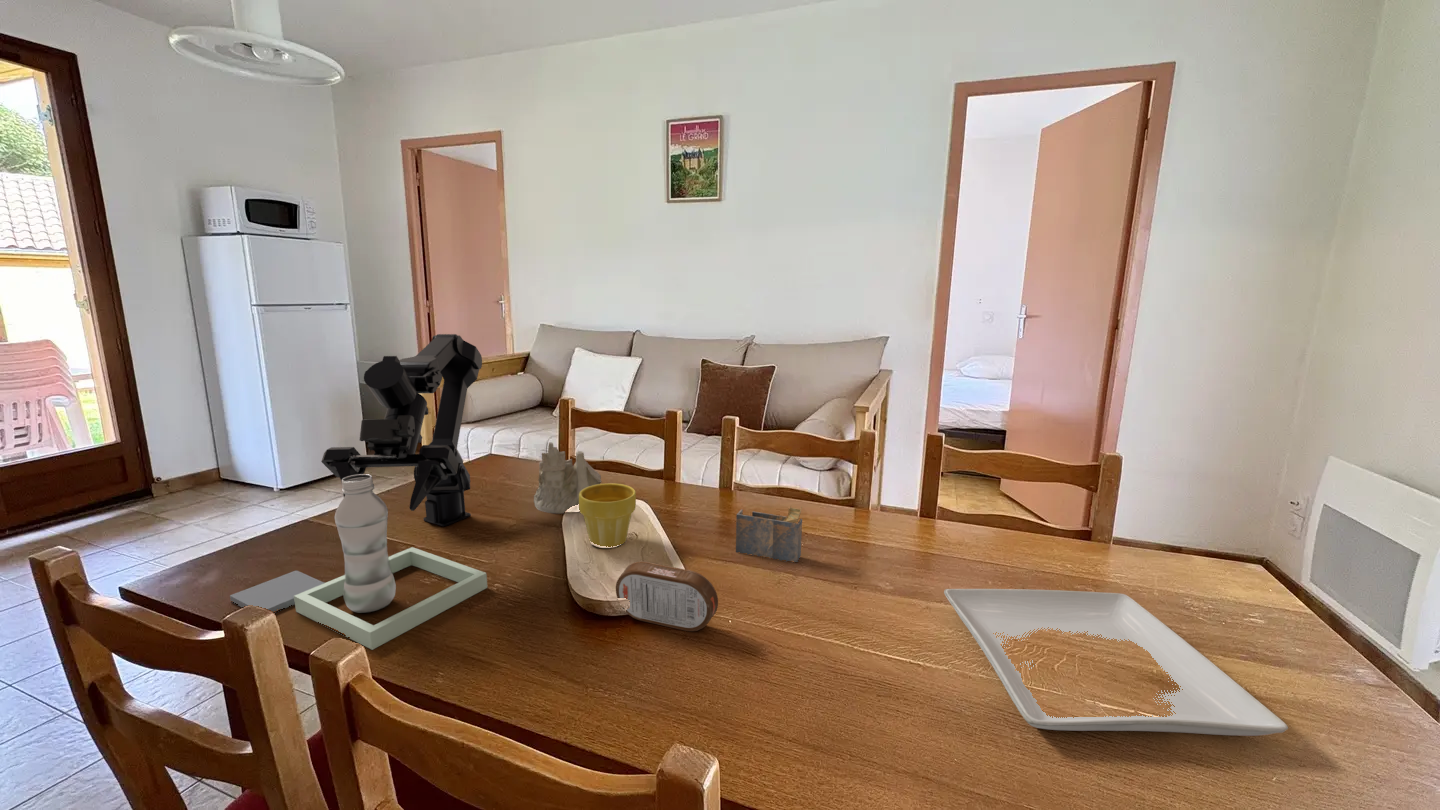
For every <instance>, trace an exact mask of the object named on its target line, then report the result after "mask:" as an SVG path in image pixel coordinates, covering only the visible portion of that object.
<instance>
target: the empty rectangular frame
mask: <svg viewBox="0 0 1440 810" xmlns="http://www.w3.org/2000/svg"><path fill="white" fill-rule="evenodd" d="M388 558H389V563H390V568H391V572H392V574H395V573H397V572H399V571H400V570H403V569H405V568H408V567H411V566H413V567H416V568H419V569H421V570H425V571H426V572H429V573H432V574H435V575H437V576H441V577H443V578H445V579H449V580H450V581H453V582H456V583H455V584H453V585H451V586H448V587H447V588H445V589H443V590H441V591H439V592H437V593H436V594H433V595H431V596H429V597H427V598H426V599H423V600H421V601H419V602H418V603H416V604H413V605H411V606H410V607H407V608H405V609H404V610H402V611H400V612H397V613H396V614H393V615H391V616H389V617H388V618H386V619H384V620H382V621H380V622H378V623H376V624H372V623H369V622H368V621H365V620H363V619H361V618H359V617H357V616H354V615H352V614H350V613H348V612H346V611H343V610H341V609H340V608H337V607H336V606H333V605H331V604H328V602H331V601H332V600H336V599H338V598H339V597H342V596H343V593H344V582H345V574H343V575H341V576H339V577H336V578H334V579H332V580H329V581H327V582H324V584H321V585H319V586H317V587H314V588H312V589H309V590H307V591H304V592H302V593H300V594H297V595H295V596H294V601H295V604H294V606H295V607H294V608H295V612H296V613H298V614H300V615H302V616H304V617H306V618H308V619H310V620H312V621H313V622H316V623H318V622H319V623H318V624H320V623H321V624H320V625H322V624H324V625H327V626H329V627H331V628H334V629H336V630H338V631H339V632H341V633H344V634H345V635H346V636H345V637H346V638H348V637H350V638H349V639H350V640H352V641H354V642H356V643H358V644H360V645H362V646H364V647H365V648H368V649H370V650H372V651H373V650H375V649H377V648H378V647H380V646H382V645H383V644H386V643H388V642H390V641H391V640H393V639H395V638H397V637H399V636H400V635H403V634H404V633H406V632H408V631H410V630H411V629H413V628H415V627H417V626H419V625H420V624H423V623H425V622H426V621H429V620H431V619H432V618H434V617H436V616H437V615H439V614H441V613H443V612H445V611H446V610H449V609H450V608H452V607H455V606H456V605H458V604H459V603H462V602H463V601H465V600H467V599H469V598H471V597H473V596H475V595H476V594H478V593H480V592H482V591H484V590H486V589H488V576H487V572H485V571H483V570H479V569H476V568H473V567H470V566H467V565H465V564H462V563H459V562H456V561H454V560H451V559H447V558H445V557H442V556H440V555H436V554H433V553H430V552H427V551H425V550H422V549H419V548H415V547H413V546H411V547H409V548H406V549H404V550H402V551H399V552H396V553H394V554H392V555H388ZM324 625H323V626H324Z"/></svg>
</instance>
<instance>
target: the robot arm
mask: <svg viewBox="0 0 1440 810" xmlns="http://www.w3.org/2000/svg"><path fill="white" fill-rule="evenodd" d="M482 367H483V358H482V354H481V353H480V351H479V349H478V348H477V346H475V345H474V344H471V343H470V342H467V341H465V340H464V339H463V338H462V336H461V335H458V334H456V333H451V334H450V333H440V334H439V333H438V334H436V335H435V334H434V335H433V336H432V339H431V341H430V342H429V343H428V344H427V345H426V346H425V347H424V348H423V349H421V351H420V352H418V353H417V354H416V355H415V356H410V357H405V358H401V359H399V357H398V356H397V355H383V357H382V360H381V361H378V362H376V363H373V365H371V366H370V367H369V368H368V369H367V370H366V371H364V374H363V380H364V381H363V382H364V383H365V385H366V386H367V388H368V389H369V391H370V392H371V394H372V395H373V396H374V397H375V399H376V400H377V402H378V403H379V404H380V405H381V406H382V407H384V408H386V412H385V415H384V418H382V419H381V418H380V419H379V418H377V419H376V418H375V419H370V418H369V419H368V418H367V419H362V420H361V421H360V423H361V424H360V432H359V441H360V442H366V443H368V444H367V448H368V449H369V450H370V451H373V452H374V454H361V453H360V452H359V451H358V450H357V449H356V448H355V447H354V446H342V447H341V446H340V447H337V446H336V447H335V446H333V447H330V448H328V449H326V450H325V451H324V452H323V455H322V459H321V463H322V464H323V465H324V467H326V468H327V469H328V470H329V471H330V472H331V474H333V475H334V476H335V477H337V478H339V479H340V482H341V483H342V479H343V478H345V477H348V476H352V475H358V474H366V473H365V471H366V469H367V468H392V467H393V468H395V467H396V468H397V467H398V468H399V467H414V468H413V478H414V482H415V484H414V486H413V490H412V493H411V497H410V502H409V510H410V511H411V512H414V511H416V509H417V508H418V507H419V505H420V504H421V503H422V502H423V500H425V499H426V500H425V501H424V506H425V507H424V509H425V517H423V521H425V522H427V523H431V524H434V525H436V526H437V525H438V526H441V527H446V526H449V525H452V524H455V523H457V522H460V521H463V520H464V519H467V518H469V517H471V516H472V514H471V513H470V512H466V505H465V504H466V503H465V491H470V490H471V475H470V473H469V471H468V469H467V468H466V466H465V465H464V460H463V458H462V456H461V454H460V451H459V450H458V444H459V439H460V432H461V426H462V420H463V415H464V411H465V410H464V409H465V403H466V399H467V391H468V388H469V387H471V386H472V384H473V383H475V381H477V380H478V377H479V373H480V370H481V369H482ZM442 380H443V384H442V385H443V386H442V390H441V395H440V400H439V406H438V409H437V415H436V420H435V424H434V431H433V434H432V435H433V436H432V440H431V442H430V443H429V444H423V445H422V446H421V447H420V448H419V453H417V448H418V444H420V443H422V440H423V436H422V434H421V431H422V426H423V422H424V419H425V415H426V416H427V415H429V414H430V413H429V408H428V402H427V400H426V399H425V397H424V396H423V395H422V394H434V393H435V392H436V391H437V390H438V389H439V387H440V385H441V382H442ZM342 494H343V493H342ZM344 497H345V494H343V498H344Z"/></svg>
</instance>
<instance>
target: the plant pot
mask: <svg viewBox="0 0 1440 810" xmlns="http://www.w3.org/2000/svg"><path fill="white" fill-rule="evenodd" d="M636 505H637V492H636V490H635V489H634V488H633V486H629V485H628V484H627V485H626V484H623V483H613V482H612V483H610V482H609V483H608V482H607V483H600V484H597V485H592V486H589V487H586V488H584V489H583V490H581V491H580V493H579V510H580V512H579V513H580V514H581V515H583V519H584V522H585V527H586V531H587V535H588V539H590V540H589V542H590V541H591V542H593V543H594V544H597V545H600V546H606V547H607V546H608V547H611V546H612V547H613V546H617V545H620V544H623V543H624V542H625V541H627V537H628V532H629V528H630V523H631V518H632V514H633V513H634V511H636ZM625 543H626V542H625ZM625 543H624V544H625ZM624 544H623V545H624Z"/></svg>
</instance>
